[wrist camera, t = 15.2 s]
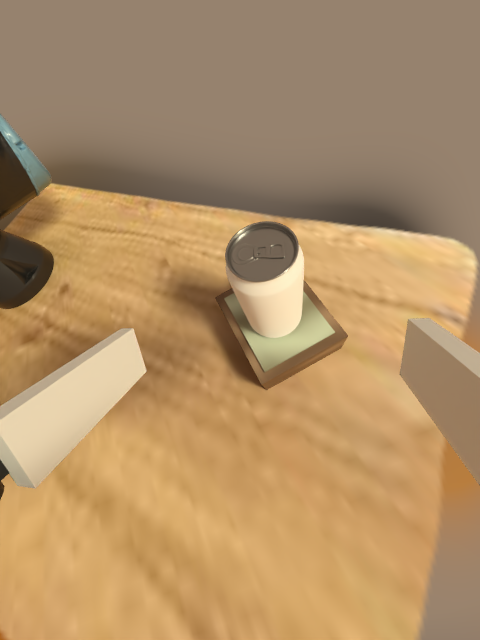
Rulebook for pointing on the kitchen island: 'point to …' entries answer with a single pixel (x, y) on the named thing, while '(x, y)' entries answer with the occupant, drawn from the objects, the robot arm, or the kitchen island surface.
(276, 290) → the can
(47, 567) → the kitchen island surface
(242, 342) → the plinth
